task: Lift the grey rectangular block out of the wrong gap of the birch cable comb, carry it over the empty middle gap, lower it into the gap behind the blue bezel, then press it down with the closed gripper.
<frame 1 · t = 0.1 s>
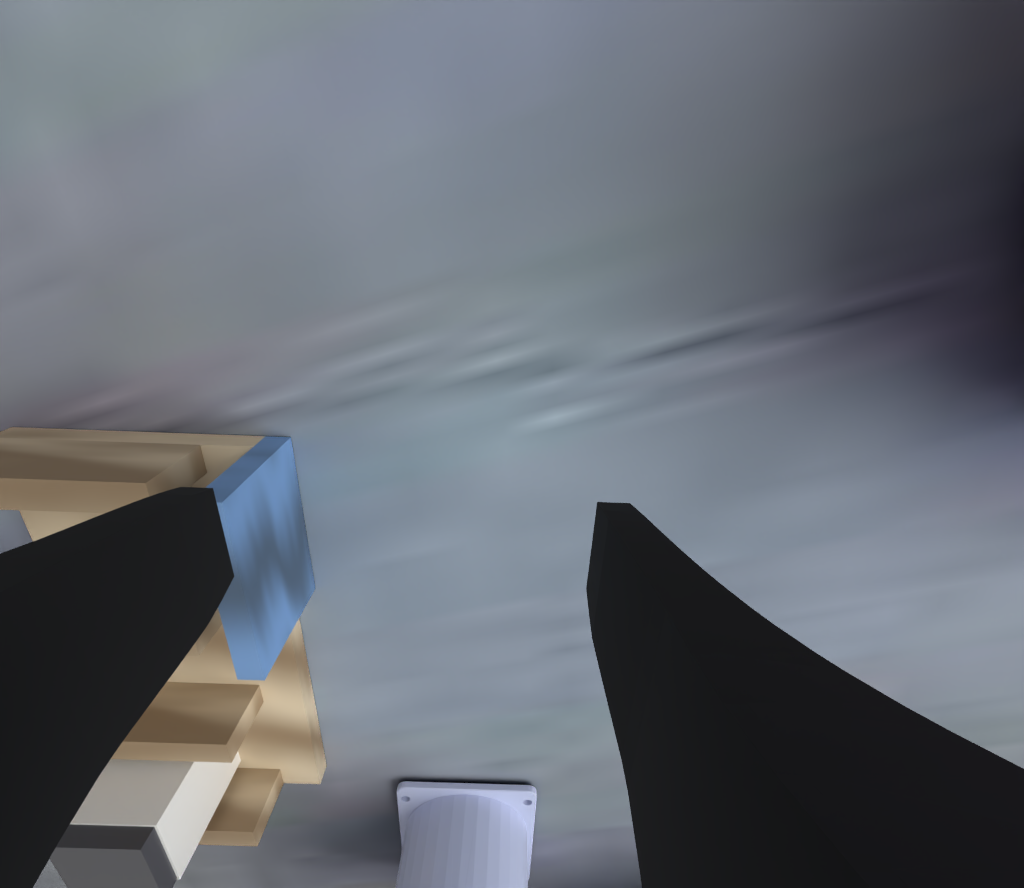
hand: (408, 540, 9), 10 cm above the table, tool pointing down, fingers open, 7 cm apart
cable comb: (176, 626, 24), on the table
grey rectangular block: (194, 734, 25), point 1 cm above the table, touching cable comb
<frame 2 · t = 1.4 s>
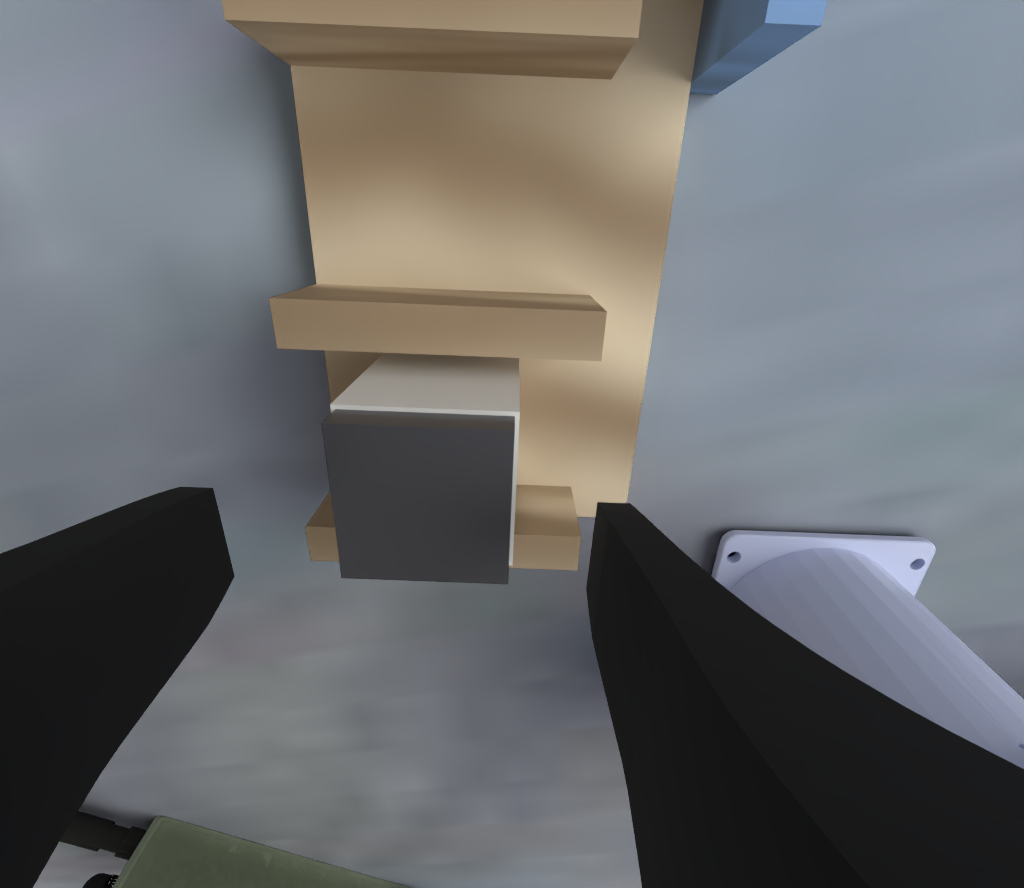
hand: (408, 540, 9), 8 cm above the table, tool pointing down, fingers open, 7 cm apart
handheld radio: (276, 849, 29), on the table
cable comb: (456, 192, 14), on the table
grey rectangular block: (454, 411, 16), point 1 cm above the table, touching cable comb
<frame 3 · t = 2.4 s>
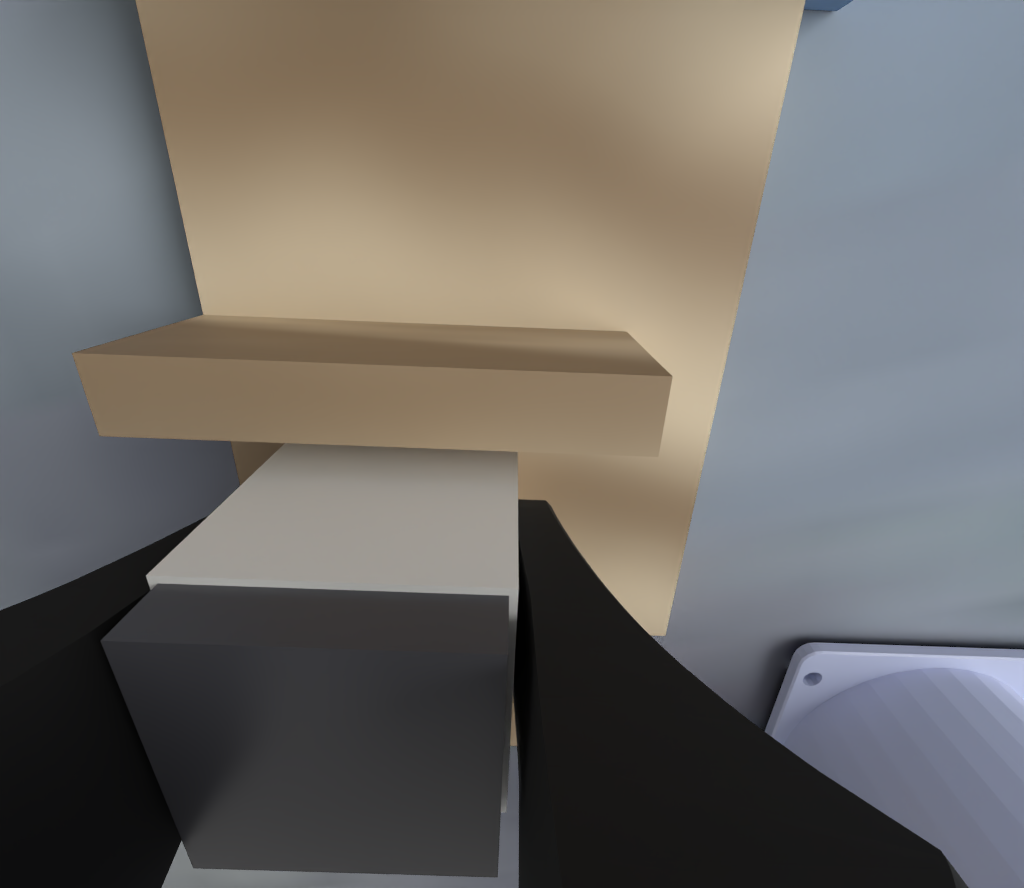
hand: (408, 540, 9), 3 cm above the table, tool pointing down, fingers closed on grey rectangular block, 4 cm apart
cable comb: (419, 171, 9), on the table
grey rectangular block: (423, 497, 11), point 1 cm above the table, touching cable comb, gripper
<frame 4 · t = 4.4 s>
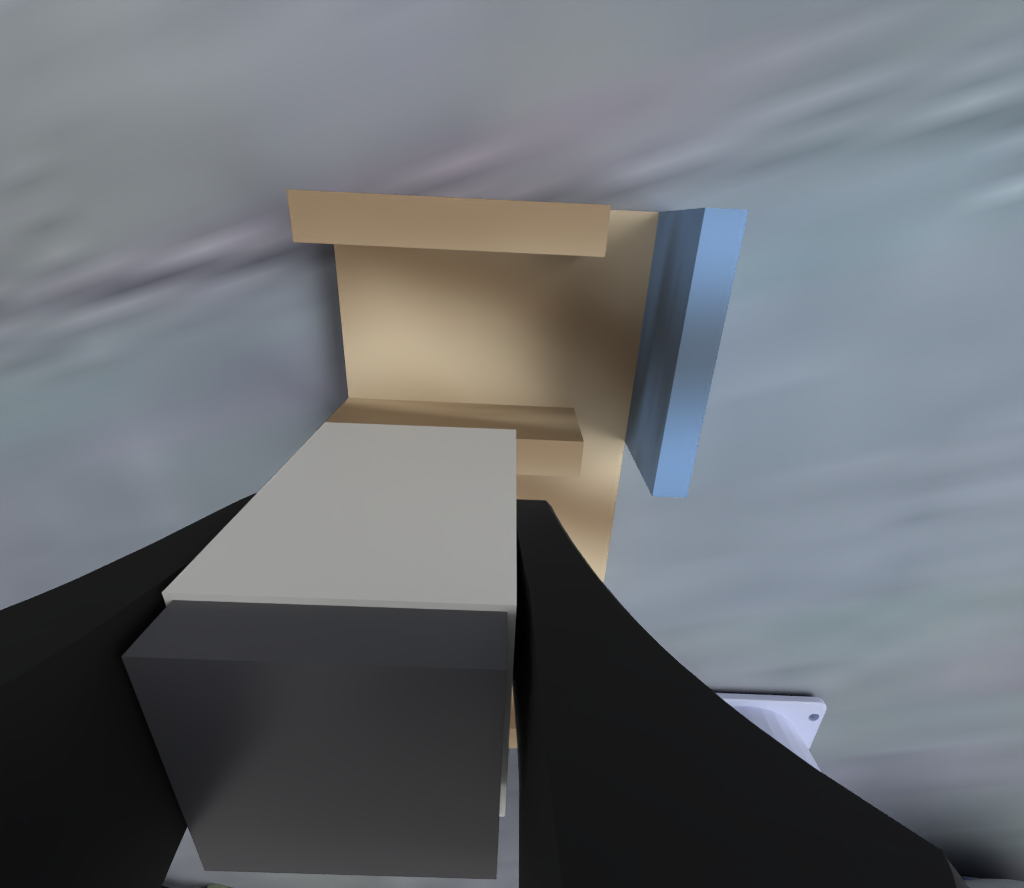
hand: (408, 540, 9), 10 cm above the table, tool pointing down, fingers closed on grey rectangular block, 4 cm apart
cable comb: (463, 483, 20), on the table
grey rectangular block: (424, 507, 11), point 8 cm above the table, touching gripper
when the fingers open (4 cm above the table, at t = 6.2 s): grey rectangular block stays where it is, resting on cable comb.
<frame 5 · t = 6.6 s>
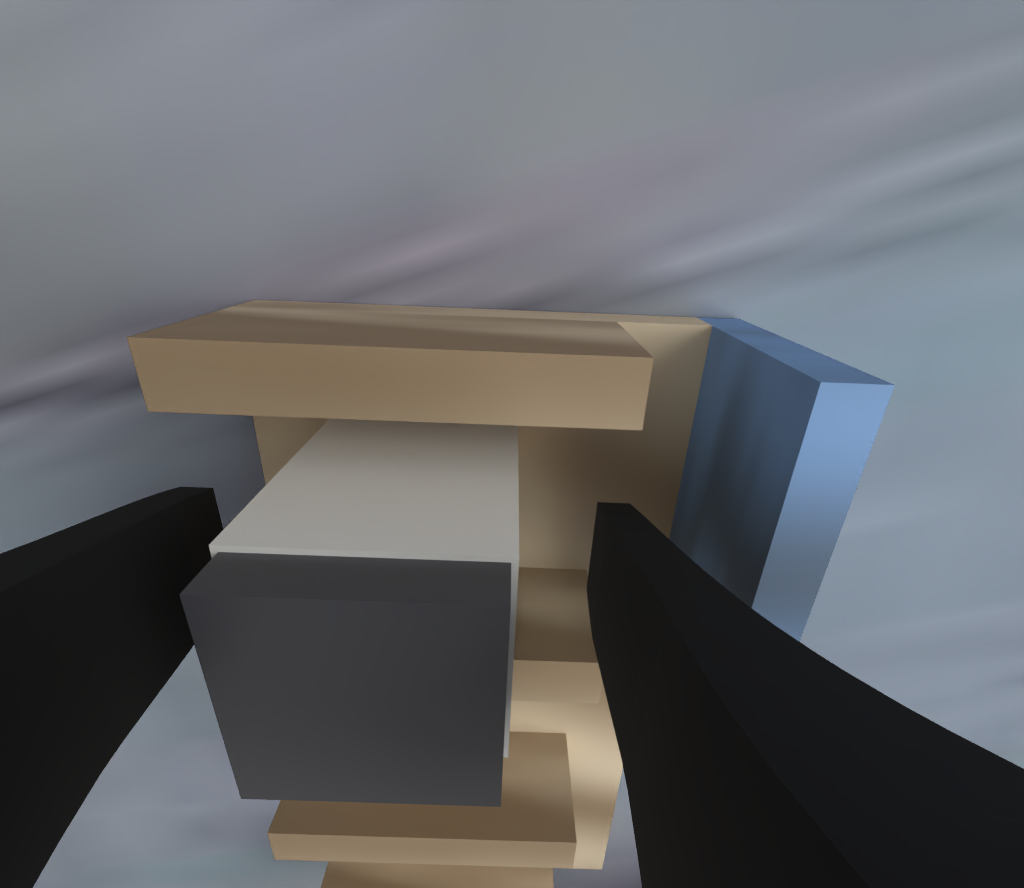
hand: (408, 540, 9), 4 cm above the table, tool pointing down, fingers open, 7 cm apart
cable comb: (441, 642, 15), on the table
grey rectangular block: (431, 488, 12), point 1 cm above the table, touching cable comb
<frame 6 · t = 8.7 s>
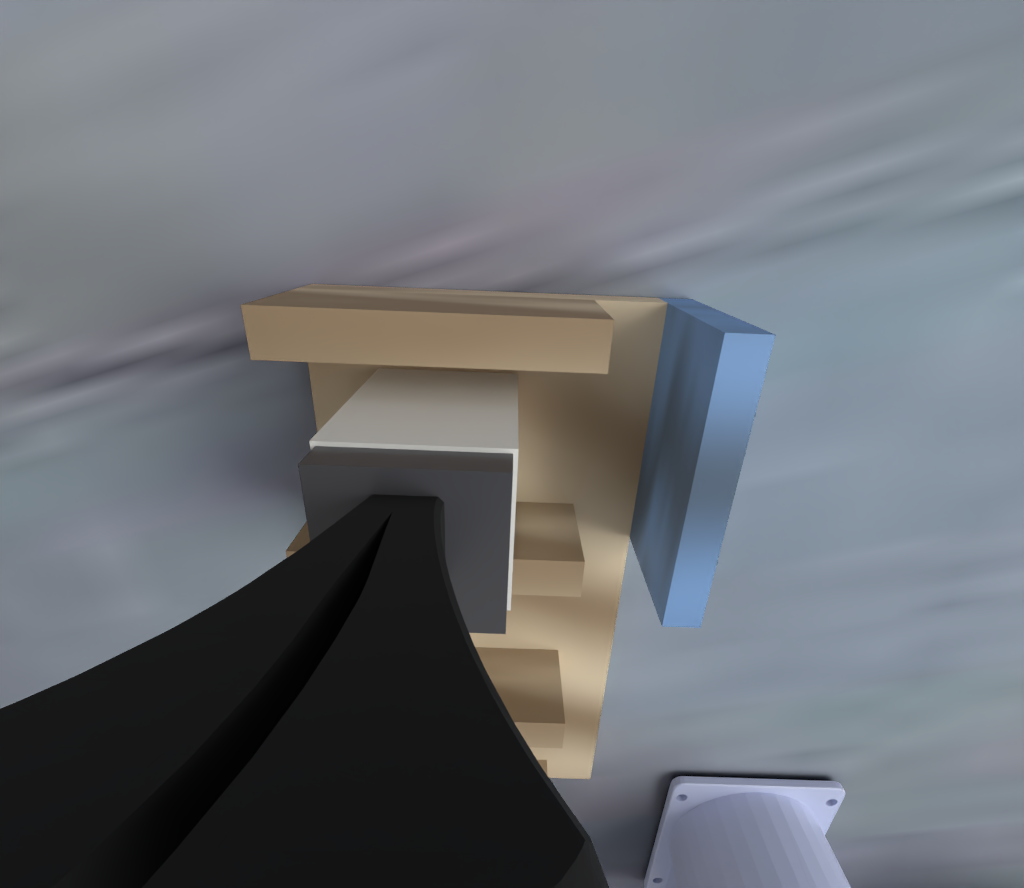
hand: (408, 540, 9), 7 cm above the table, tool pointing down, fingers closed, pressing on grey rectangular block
cable comb: (454, 573, 18), on the table
grey rectangular block: (449, 434, 15), point 1 cm above the table, touching cable comb, gripper
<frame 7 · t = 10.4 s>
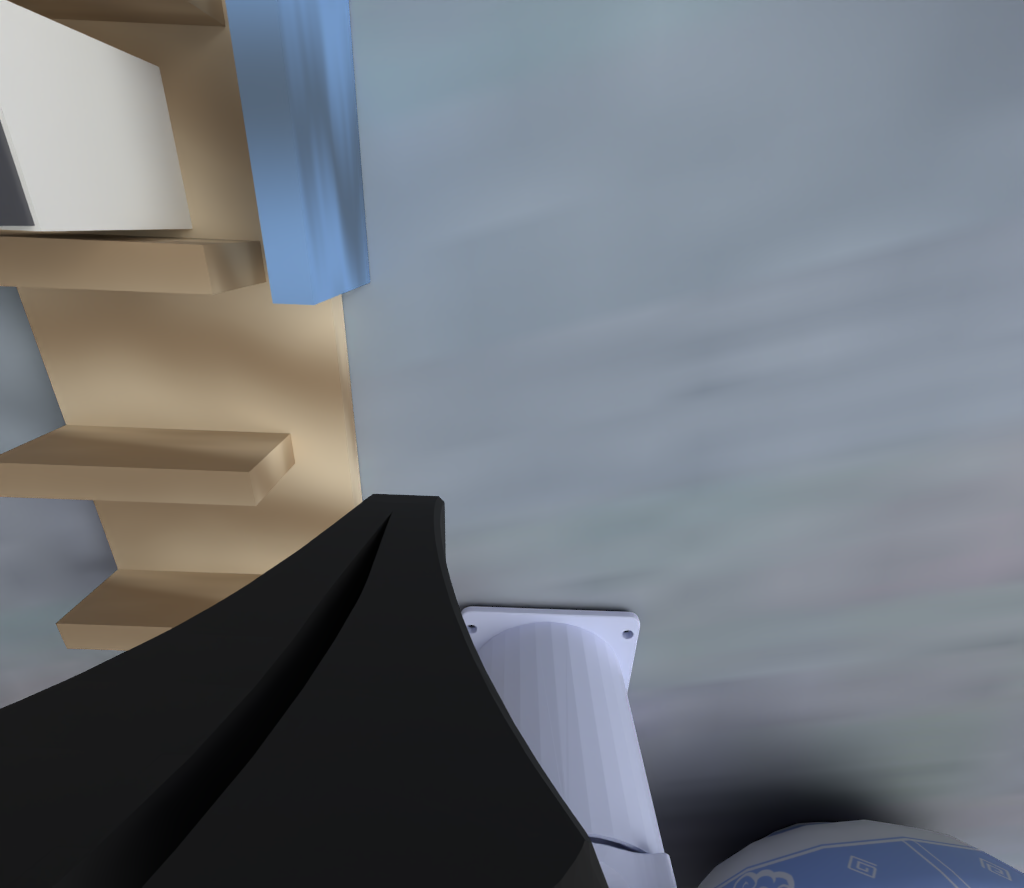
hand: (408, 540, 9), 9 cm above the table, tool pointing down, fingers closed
ramen bowl: (803, 851, 30), on the table
cable comb: (178, 350, 17), on the table
grey rectangular block: (106, 149, 14), point 1 cm above the table, touching cable comb
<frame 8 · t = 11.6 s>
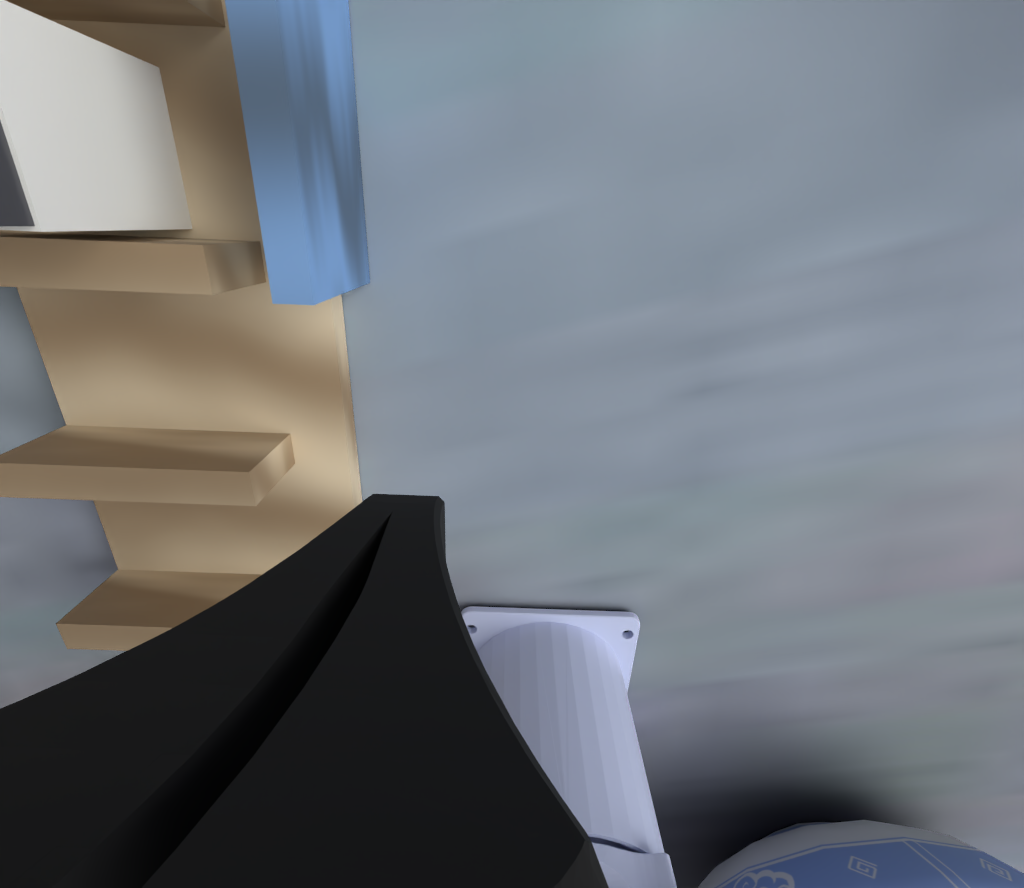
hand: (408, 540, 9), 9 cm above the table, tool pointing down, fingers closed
ramen bowl: (803, 851, 30), on the table
cable comb: (178, 351, 17), on the table
grey rectangular block: (106, 149, 14), point 1 cm above the table, touching cable comb
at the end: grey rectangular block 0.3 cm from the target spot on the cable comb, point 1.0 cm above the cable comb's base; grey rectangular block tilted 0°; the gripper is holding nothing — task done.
